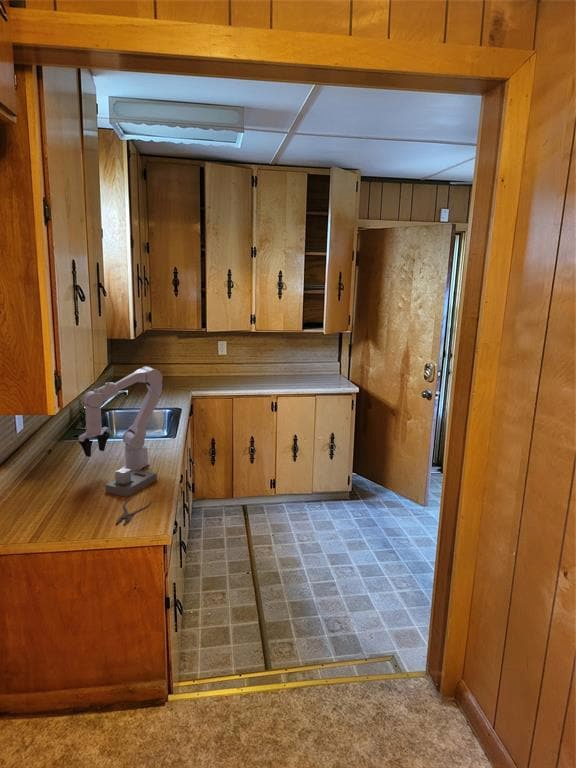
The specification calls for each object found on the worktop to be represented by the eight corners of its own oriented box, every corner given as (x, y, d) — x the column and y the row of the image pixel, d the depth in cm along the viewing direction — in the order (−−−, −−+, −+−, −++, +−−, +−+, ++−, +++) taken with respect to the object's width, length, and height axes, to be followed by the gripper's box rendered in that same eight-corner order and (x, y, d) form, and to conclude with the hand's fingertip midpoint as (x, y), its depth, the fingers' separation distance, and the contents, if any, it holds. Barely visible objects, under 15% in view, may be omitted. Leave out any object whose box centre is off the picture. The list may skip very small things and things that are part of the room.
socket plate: (136, 475, 200) (136, 468, 199) (156, 480, 196) (156, 473, 195) (105, 492, 183) (105, 484, 183) (126, 497, 180) (126, 489, 179)
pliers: (152, 497, 179) (145, 523, 160) (152, 500, 179) (145, 526, 160) (125, 498, 178) (114, 524, 158) (125, 500, 178) (114, 527, 158)
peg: (123, 487, 188) (122, 467, 187) (131, 489, 187) (130, 469, 185) (115, 491, 185) (115, 471, 183) (124, 493, 183) (123, 473, 182)
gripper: (87, 427, 186) (89, 460, 189) (114, 418, 199) (115, 449, 202) (73, 424, 188) (75, 457, 191) (100, 416, 202) (101, 447, 204)
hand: (95, 453), depth 197 cm, fingers open, 7 cm apart
